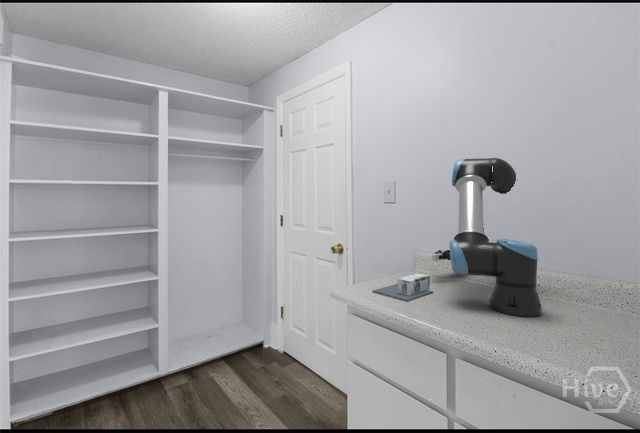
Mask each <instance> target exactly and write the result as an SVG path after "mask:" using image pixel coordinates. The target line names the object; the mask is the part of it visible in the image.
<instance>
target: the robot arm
mask: <svg viewBox="0 0 640 433" xmlns="http://www.w3.org/2000/svg"><path fill="white" fill-rule="evenodd" d="M492 166H493V172H492ZM516 175H517V173H516V171H515V169H514V168H513V167H512V165H511V164H510V163H508V162H507V161H506V160H505V159H502V158H500V157H499V158H498V157H490V158H489V157H488V158H487V157H486V158H485V157H484V158H462V159H457V160H456V161H455V162H454V165H453V170H452V177H451V185H452V186H453V187H455V189H456V191H457V192H458V194H459V195H458V224H457V226H458V228H457V229H458V232H457V233H456V234H455V235H454V237H453V239H452V240H449V243H448V244H449V248H450V250H448V249H449V248H448V249H447V250H444V251H443V250H441V249H438V251H435V252H434V253H433V254H431V261H432V262H437V261H442V260H444V261H445V260H447V261H450V264H451V270H452V272H454V273H456V274H461V275H465V276H467V275H470V276H482V277H491V278H492V277H493V278H494V277H495V285H494V288H493V291H492V292H491V296H490V297H489V300H488V302H489V303H488V304H489V307H490V308H491V309H492V310H494V311H496V312H500V313H501V314H502V313H503V314H505V315H511V316H516V317H517V316H518V317H523V318H524V317H527V318H528V317H529V318H530V317H538V316H541V315H542V312H543V307H542V306H543V305H542V303H541V300H540V297H539V294H538V291H537V279H538V277H537V274H538V273H537V272H538V261H539V257H538V248H537V246H536V245H534V244H532V243H529V242H525V241H520V240H514V239H510V238H509V239H498V240H496V242H491V241H490V240H489V239H488V237H487V236H486V235H485V234H484V227H483V225H484V200H483V192H484V191H485V190H486V188H487V187H490V188H491V190H492V192H493V191H495V192H497V193H498V192H499V193H500V194H506V193H507V192H509V191H510V190H511V188H512V187H513V186H514V184H515V181H516ZM491 182H492V183H491Z"/></svg>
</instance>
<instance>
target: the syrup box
mask: <svg viewBox="0 0 640 433" xmlns="http://www.w3.org/2000/svg"><path fill="white" fill-rule="evenodd" d="M397 284H398V291H397V292H398V293H401V294H405V295H409V296H410V295H413V294H416V293H419V292H422V291H425V290H430V289H431V275H427V274H422V273H415V274H412V275H406V276H403V277H399V278H397Z"/></svg>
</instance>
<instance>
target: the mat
mask: <svg viewBox="0 0 640 433" xmlns="http://www.w3.org/2000/svg"><path fill="white" fill-rule="evenodd" d="M397 291H398V283H395V284H392V285H388V286H385V287H381V288H377V289H373V290H372V293H375V294H377V295H378V294H379V295H381V296H385V297H388V298H389V297H390V298H391V299H392V298H393V299H397V300H400V301H403V302H405V303H406V302H411V301H413V300H416V299H420V298H422V297H426V296H428V295H430V294H433V293H434V291H433V290H430V289H429V290H425V291H422V292H419V293H416V294H413V295H410V296H409V295H405V294H401V293H398V292H397Z"/></svg>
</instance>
